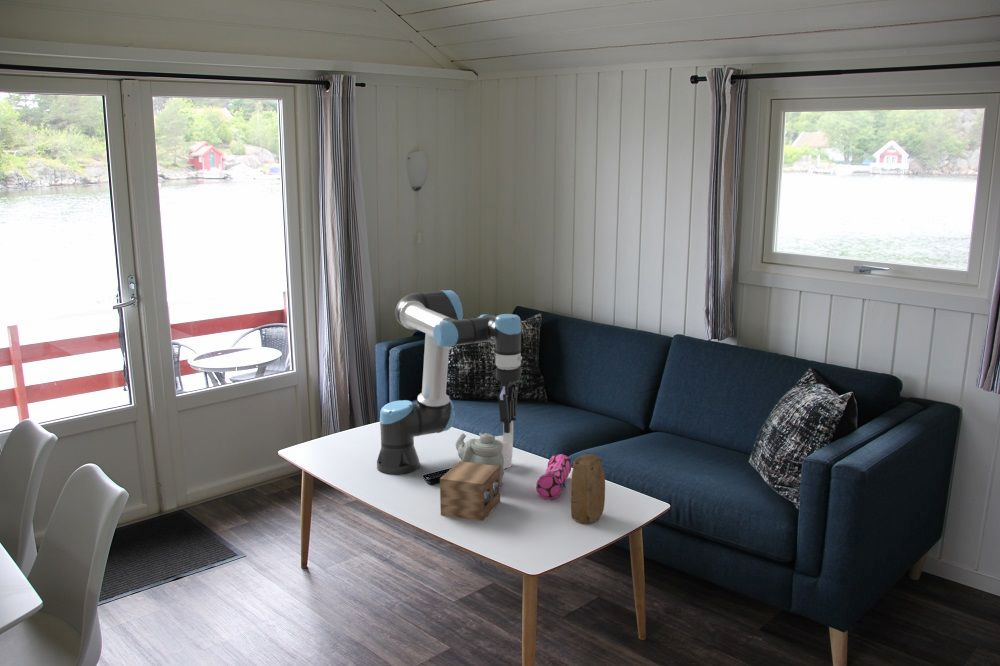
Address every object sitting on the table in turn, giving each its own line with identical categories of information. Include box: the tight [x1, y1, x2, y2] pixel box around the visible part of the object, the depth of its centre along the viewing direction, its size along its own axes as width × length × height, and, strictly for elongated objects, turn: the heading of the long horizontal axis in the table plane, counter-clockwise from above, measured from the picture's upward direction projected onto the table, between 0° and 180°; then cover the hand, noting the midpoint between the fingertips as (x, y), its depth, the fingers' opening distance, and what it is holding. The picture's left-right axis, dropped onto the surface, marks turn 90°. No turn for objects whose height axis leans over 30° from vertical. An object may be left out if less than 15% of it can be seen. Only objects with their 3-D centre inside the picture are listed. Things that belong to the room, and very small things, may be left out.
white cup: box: [494, 435, 514, 470], centre depth 309 cm, size 8×8×10 cm
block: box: [570, 453, 606, 524], centre depth 264 cm, size 11×8×20 cm
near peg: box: [484, 491, 490, 504], centre depth 269 cm, size 14×4×4 cm, turn 71°
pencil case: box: [535, 453, 572, 500], centre depth 288 cm, size 21×10×10 cm, turn 168°
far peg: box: [493, 482, 499, 494], centre depth 276 cm, size 14×4×4 cm, turn 71°
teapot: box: [455, 432, 505, 487], centre depth 292 cm, size 16×15×19 cm
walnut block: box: [439, 460, 501, 522], centre depth 273 cm, size 14×16×12 cm
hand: (508, 441), depth 262 cm, fingers closed
